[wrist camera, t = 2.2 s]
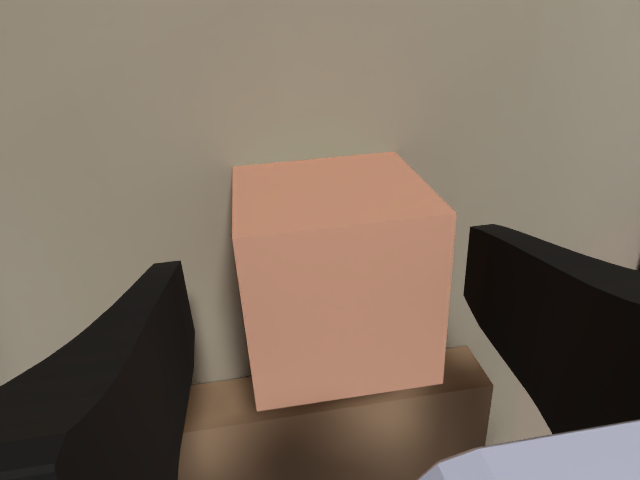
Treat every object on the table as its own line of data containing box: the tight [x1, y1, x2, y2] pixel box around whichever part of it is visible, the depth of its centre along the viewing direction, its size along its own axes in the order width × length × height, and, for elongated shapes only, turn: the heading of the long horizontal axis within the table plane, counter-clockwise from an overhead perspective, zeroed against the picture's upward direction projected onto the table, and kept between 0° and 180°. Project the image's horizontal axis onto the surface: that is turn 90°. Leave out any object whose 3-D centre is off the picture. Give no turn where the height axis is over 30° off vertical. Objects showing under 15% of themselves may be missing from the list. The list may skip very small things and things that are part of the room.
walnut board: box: [178, 346, 493, 480], centre depth 18 cm, size 12×8×2 cm, turn 93°
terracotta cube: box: [232, 152, 457, 411], centre depth 13 cm, size 4×4×4 cm
